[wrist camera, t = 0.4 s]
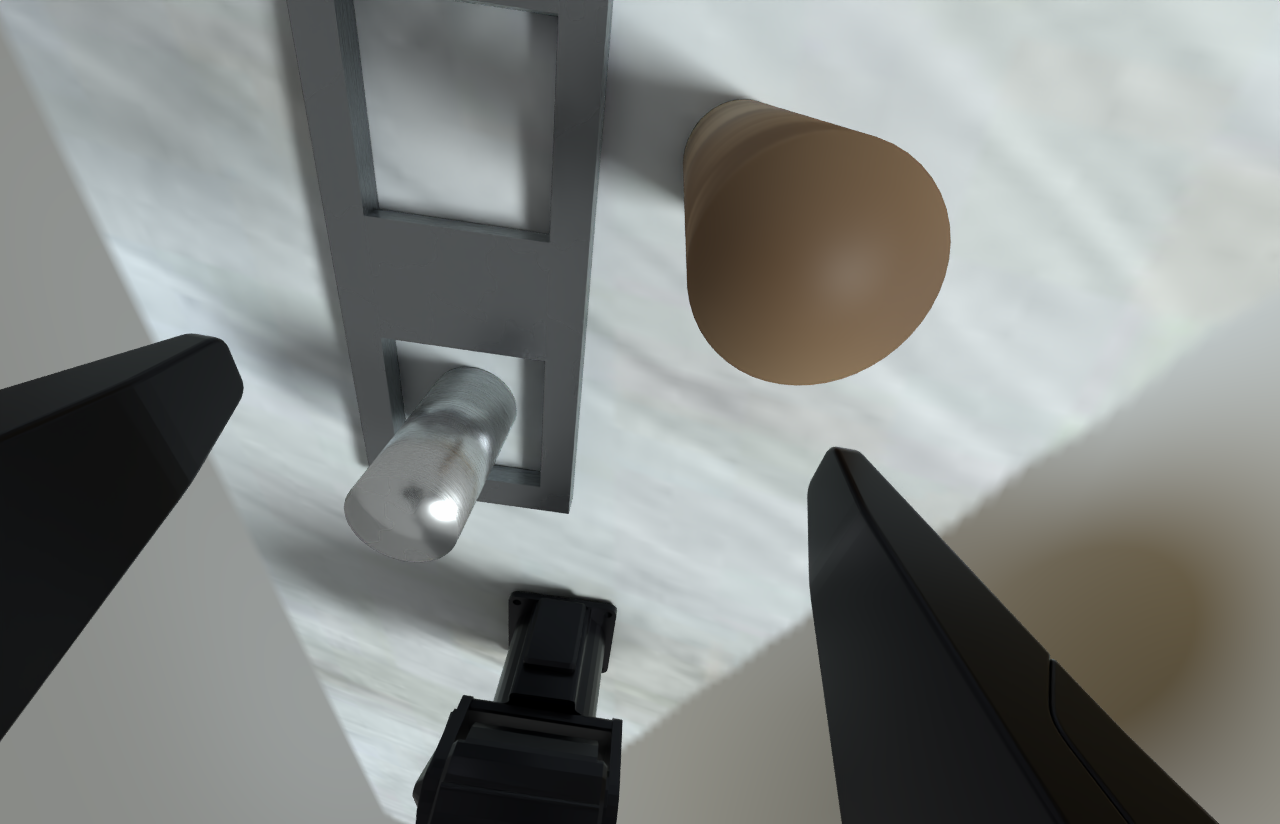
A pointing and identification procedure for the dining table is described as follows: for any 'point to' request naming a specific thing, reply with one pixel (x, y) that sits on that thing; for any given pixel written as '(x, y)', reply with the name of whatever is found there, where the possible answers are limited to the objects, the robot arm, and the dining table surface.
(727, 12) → the dining table surface
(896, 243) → the walnut pin
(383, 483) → the steel pin
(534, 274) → the plate
